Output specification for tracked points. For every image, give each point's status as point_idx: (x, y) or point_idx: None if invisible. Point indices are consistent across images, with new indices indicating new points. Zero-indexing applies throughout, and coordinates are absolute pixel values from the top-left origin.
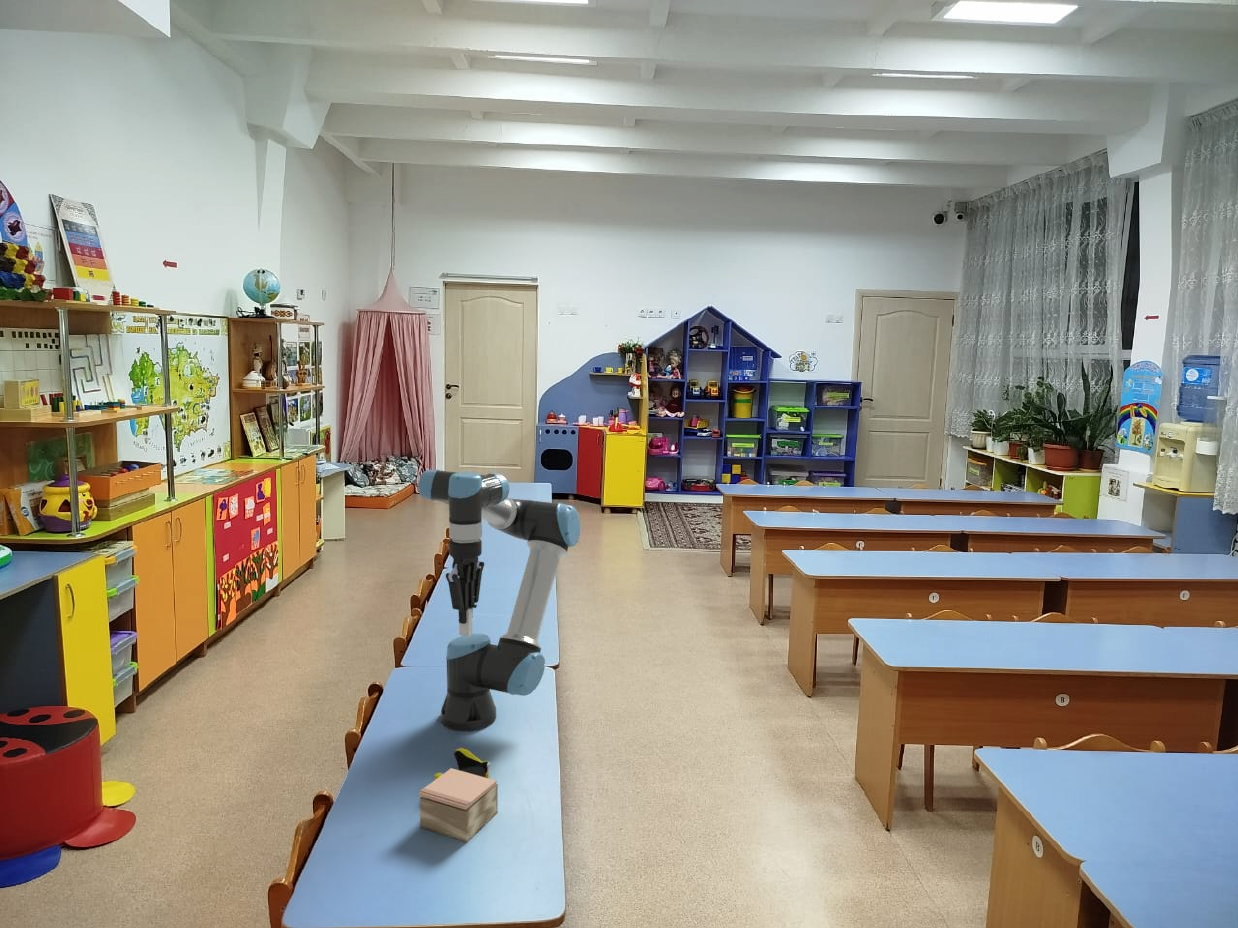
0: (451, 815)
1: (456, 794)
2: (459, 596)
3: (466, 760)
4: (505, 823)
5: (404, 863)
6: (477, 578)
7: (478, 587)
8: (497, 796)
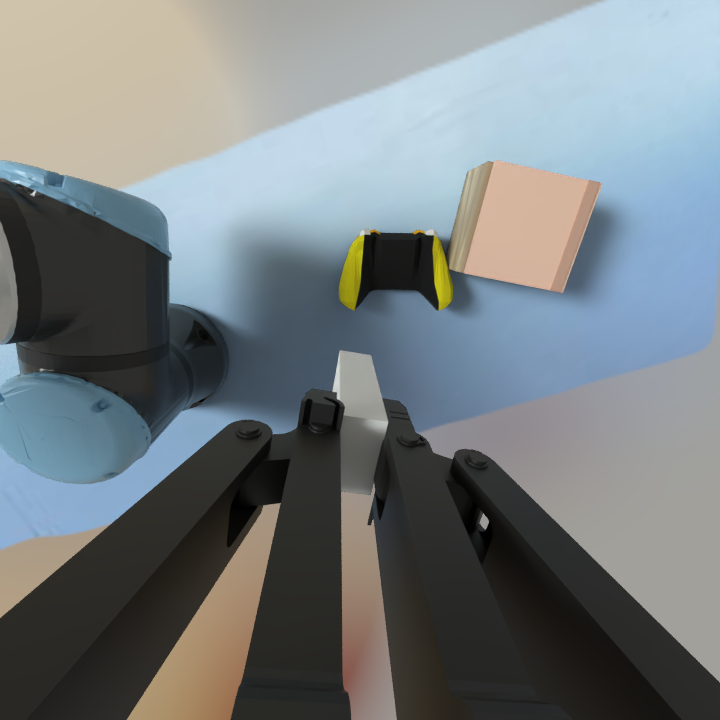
0: None
1: (561, 220)
2: (593, 563)
3: (364, 280)
4: (495, 144)
5: (609, 265)
6: (90, 663)
7: (173, 513)
8: (478, 166)
